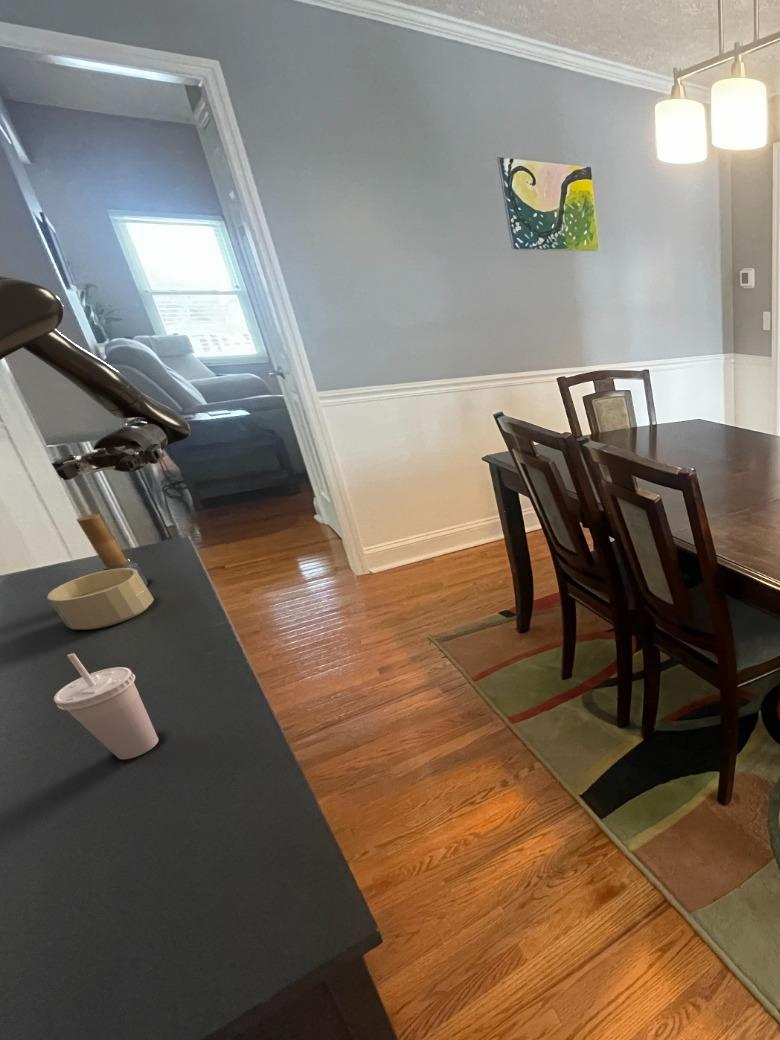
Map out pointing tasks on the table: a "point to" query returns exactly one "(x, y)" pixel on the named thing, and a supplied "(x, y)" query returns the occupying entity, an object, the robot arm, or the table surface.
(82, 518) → the brush
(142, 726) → the smoothie
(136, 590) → the bowl
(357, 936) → the table surface
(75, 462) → the robot arm
